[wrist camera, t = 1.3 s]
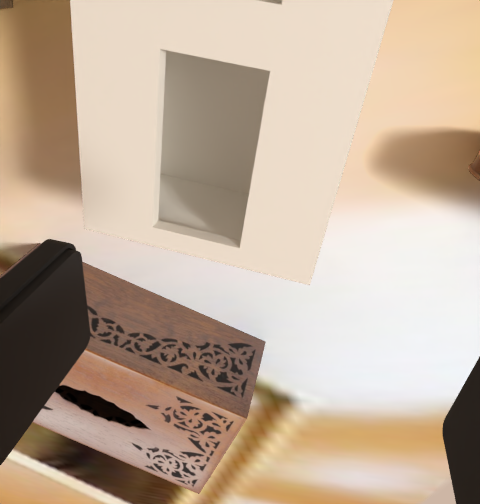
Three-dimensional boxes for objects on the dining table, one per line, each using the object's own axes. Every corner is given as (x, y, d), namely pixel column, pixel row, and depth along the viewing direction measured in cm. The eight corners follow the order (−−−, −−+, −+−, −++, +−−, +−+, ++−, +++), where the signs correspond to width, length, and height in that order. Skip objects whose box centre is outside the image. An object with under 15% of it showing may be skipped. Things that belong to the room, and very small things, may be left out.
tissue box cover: (30, 332, 54) (-28, 396, 46) (40, 241, 46) (-29, 299, 38) (222, 415, 54) (198, 493, 46) (265, 340, 46) (246, 418, 38)
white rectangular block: (152, -305, 23) (41, -462, 15) (455, -271, 22) (518, -427, 13) (141, 175, 39) (84, 229, 30) (319, 217, 37) (309, 285, 29)
